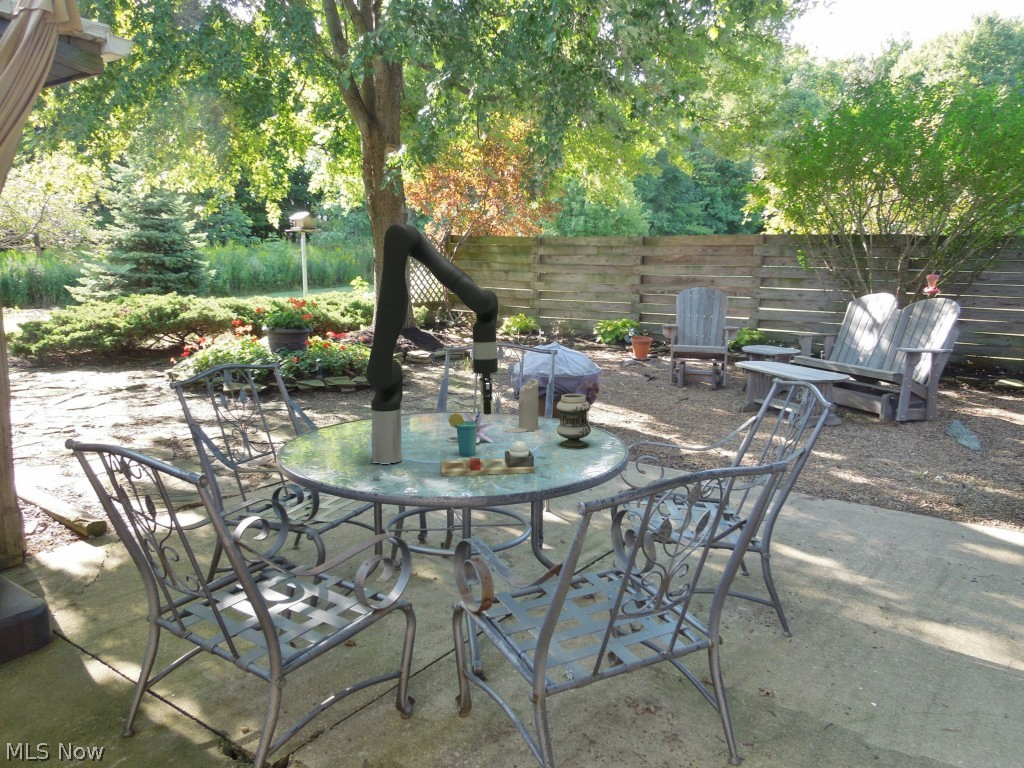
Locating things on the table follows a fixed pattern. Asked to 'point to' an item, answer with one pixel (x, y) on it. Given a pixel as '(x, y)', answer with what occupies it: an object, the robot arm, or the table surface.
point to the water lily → (481, 428)
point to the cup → (465, 433)
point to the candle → (528, 408)
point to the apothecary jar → (573, 420)
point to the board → (489, 466)
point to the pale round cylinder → (519, 449)
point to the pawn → (483, 404)
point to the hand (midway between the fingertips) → (486, 412)
